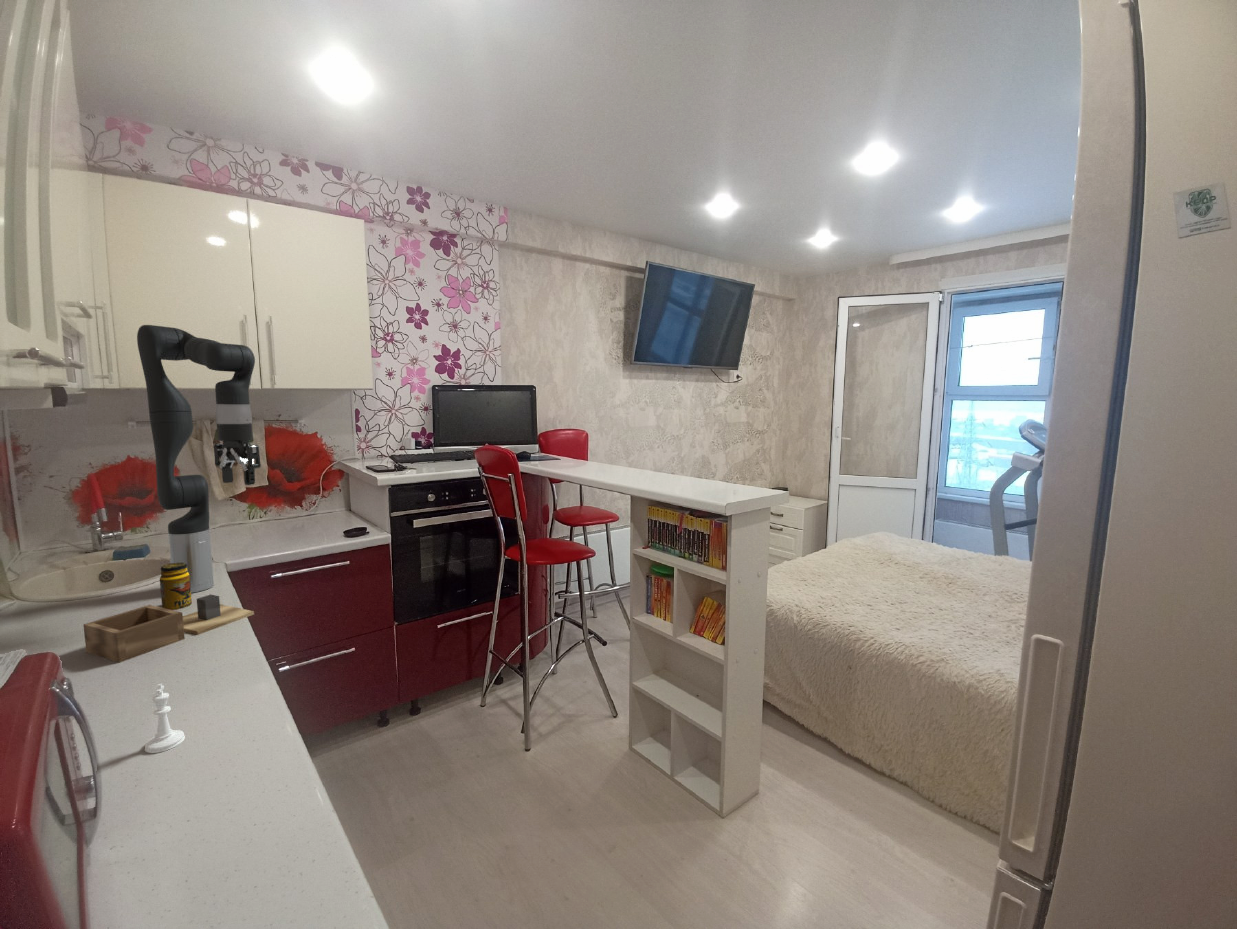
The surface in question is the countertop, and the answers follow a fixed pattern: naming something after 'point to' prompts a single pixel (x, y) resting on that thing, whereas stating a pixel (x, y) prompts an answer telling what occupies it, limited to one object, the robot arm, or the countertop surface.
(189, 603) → the condiment
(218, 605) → the lid
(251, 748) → the countertop surface
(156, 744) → the chess piece
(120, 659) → the box
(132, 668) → the countertop surface
